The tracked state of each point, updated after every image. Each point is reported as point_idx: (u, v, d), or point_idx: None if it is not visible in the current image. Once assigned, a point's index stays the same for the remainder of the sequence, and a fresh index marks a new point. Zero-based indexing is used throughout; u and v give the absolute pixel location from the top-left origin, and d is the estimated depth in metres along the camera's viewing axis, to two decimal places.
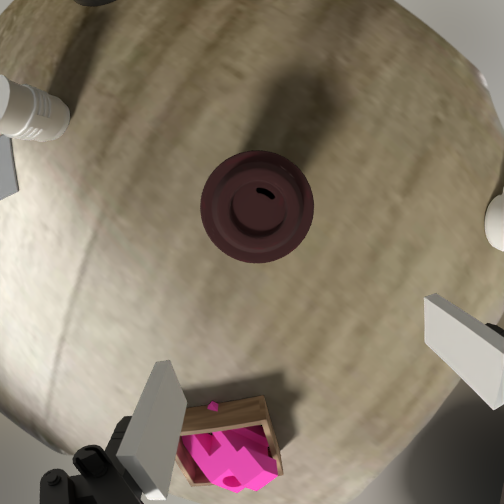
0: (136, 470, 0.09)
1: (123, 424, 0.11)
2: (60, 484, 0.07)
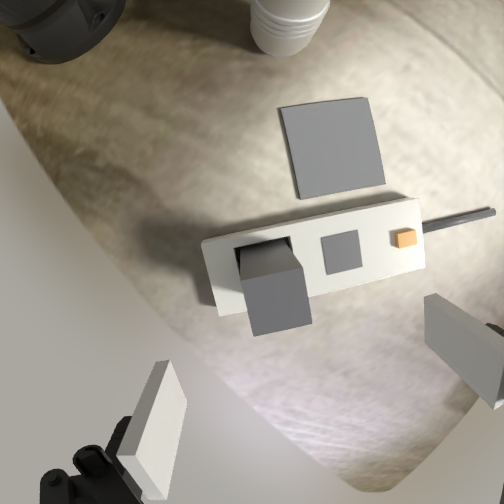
0: (136, 470, 0.09)
1: (123, 424, 0.11)
2: (60, 484, 0.07)
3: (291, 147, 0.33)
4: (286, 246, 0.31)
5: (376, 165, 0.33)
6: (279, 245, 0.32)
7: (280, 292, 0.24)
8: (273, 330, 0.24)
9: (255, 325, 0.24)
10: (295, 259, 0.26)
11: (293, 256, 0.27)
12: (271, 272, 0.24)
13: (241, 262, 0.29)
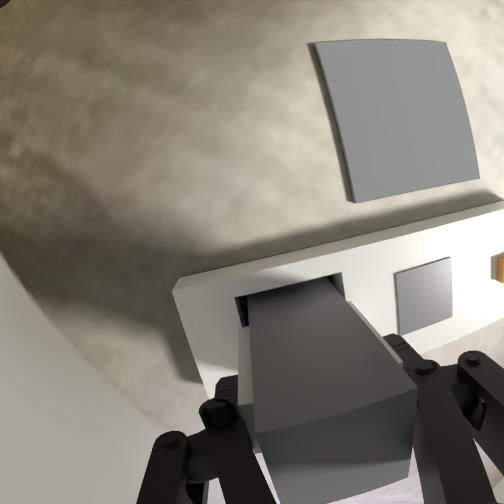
0: (253, 419, 0.11)
1: (222, 383, 0.13)
2: (176, 448, 0.09)
3: (337, 108, 0.17)
4: (339, 297, 0.15)
5: (467, 147, 0.17)
6: (323, 292, 0.16)
7: (354, 444, 0.08)
8: (327, 501, 0.09)
9: (289, 499, 0.08)
10: (382, 348, 0.10)
11: (371, 335, 0.11)
12: (337, 401, 0.08)
13: (252, 343, 0.13)
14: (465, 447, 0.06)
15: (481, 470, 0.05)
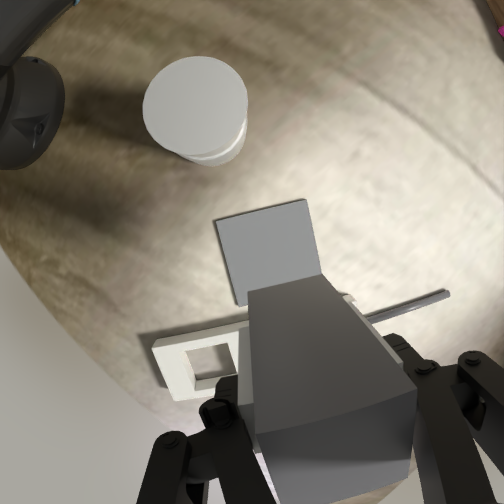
0: (253, 419, 0.11)
1: (222, 383, 0.13)
2: (177, 448, 0.09)
3: (227, 259, 0.36)
4: (339, 298, 0.15)
5: (314, 269, 0.36)
6: (323, 293, 0.16)
7: (354, 445, 0.08)
8: (327, 501, 0.09)
9: (289, 499, 0.08)
10: (381, 350, 0.10)
11: (371, 336, 0.11)
12: (337, 403, 0.08)
13: (252, 344, 0.13)
14: (465, 447, 0.06)
15: (481, 470, 0.05)
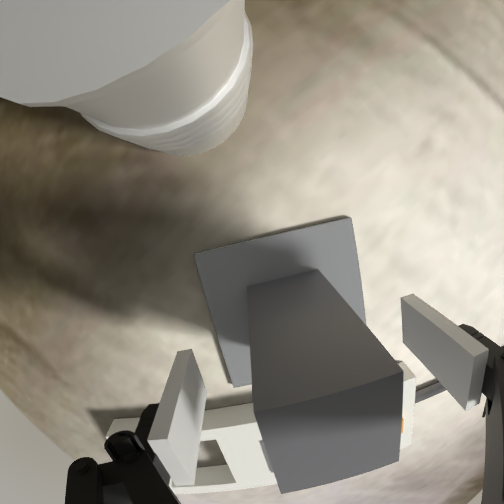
0: (166, 455, 0.09)
1: (148, 411, 0.12)
2: (89, 473, 0.08)
3: (214, 318, 0.21)
4: (334, 291, 0.16)
5: None
6: (319, 287, 0.17)
7: (346, 425, 0.09)
8: (322, 482, 0.09)
9: (285, 479, 0.09)
10: (371, 337, 0.11)
11: (362, 325, 0.12)
12: (329, 384, 0.09)
13: (251, 333, 0.14)
14: None
15: None
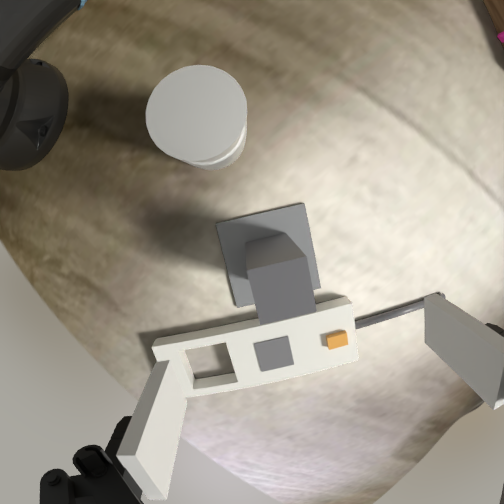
0: (136, 470, 0.09)
1: (123, 423, 0.11)
2: (60, 484, 0.07)
3: (226, 261, 0.37)
4: (290, 239, 0.32)
5: (311, 271, 0.37)
6: (283, 238, 0.33)
7: (285, 281, 0.25)
8: (279, 318, 0.25)
9: (261, 313, 0.25)
10: (299, 250, 0.27)
11: (297, 247, 0.28)
12: (276, 261, 0.25)
13: (247, 254, 0.30)
14: None
15: None
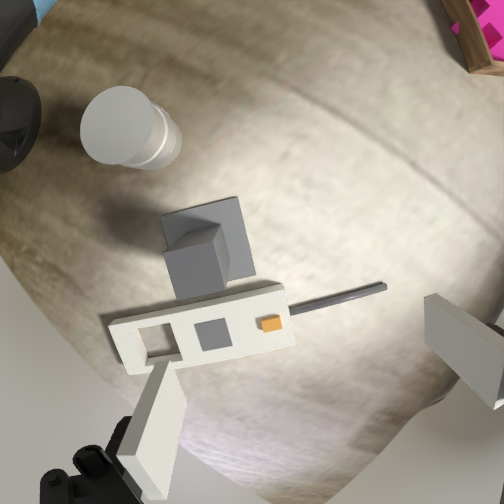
0: (136, 470, 0.09)
1: (123, 424, 0.11)
2: (60, 484, 0.07)
3: None
4: (217, 229, 0.36)
5: (246, 259, 0.41)
6: (213, 228, 0.37)
7: (195, 262, 0.28)
8: (193, 295, 0.29)
9: (177, 291, 0.29)
10: (213, 236, 0.31)
11: (214, 234, 0.32)
12: (188, 245, 0.29)
13: (175, 242, 0.33)
14: None
15: None
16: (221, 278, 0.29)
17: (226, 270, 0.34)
